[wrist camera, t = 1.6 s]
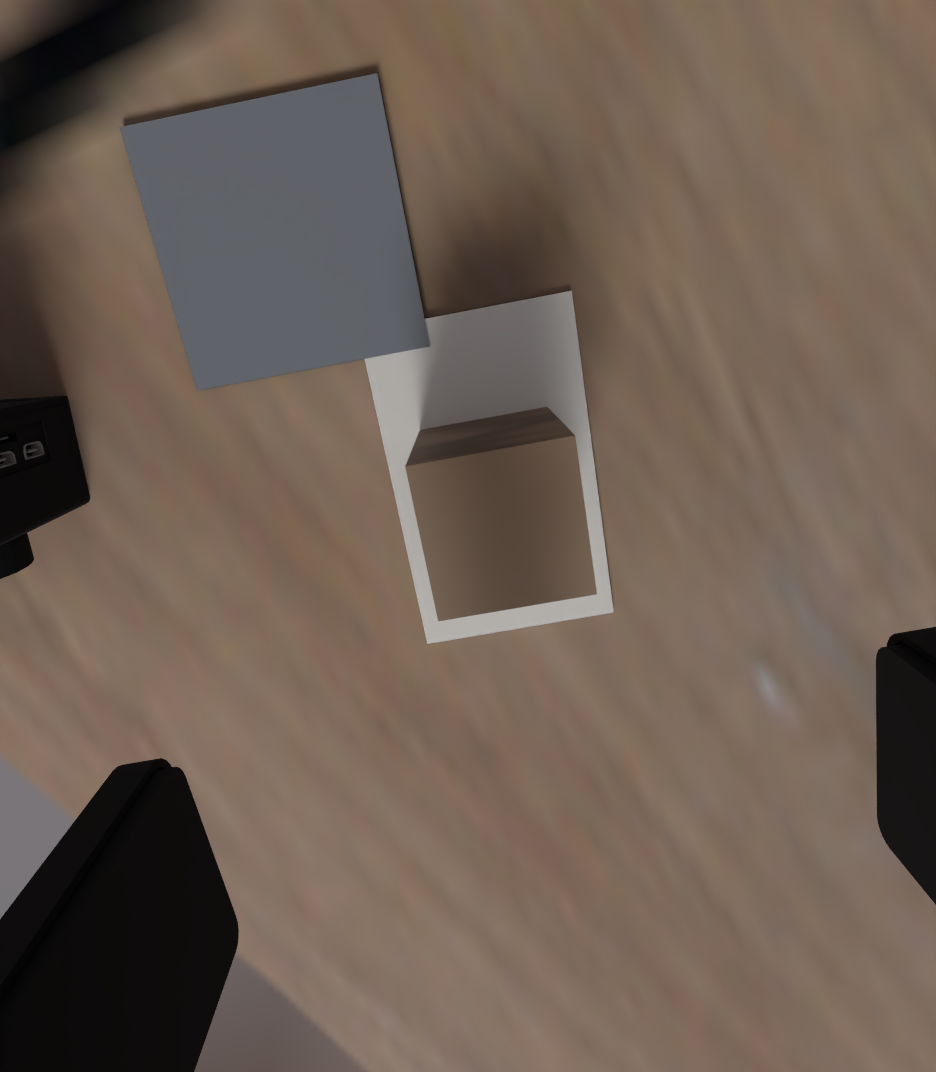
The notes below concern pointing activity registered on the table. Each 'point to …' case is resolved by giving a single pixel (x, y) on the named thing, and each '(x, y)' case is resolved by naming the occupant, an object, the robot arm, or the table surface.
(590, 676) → the table surface
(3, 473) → the digital camera
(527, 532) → the walnut block
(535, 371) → the card
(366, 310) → the rubber mat
